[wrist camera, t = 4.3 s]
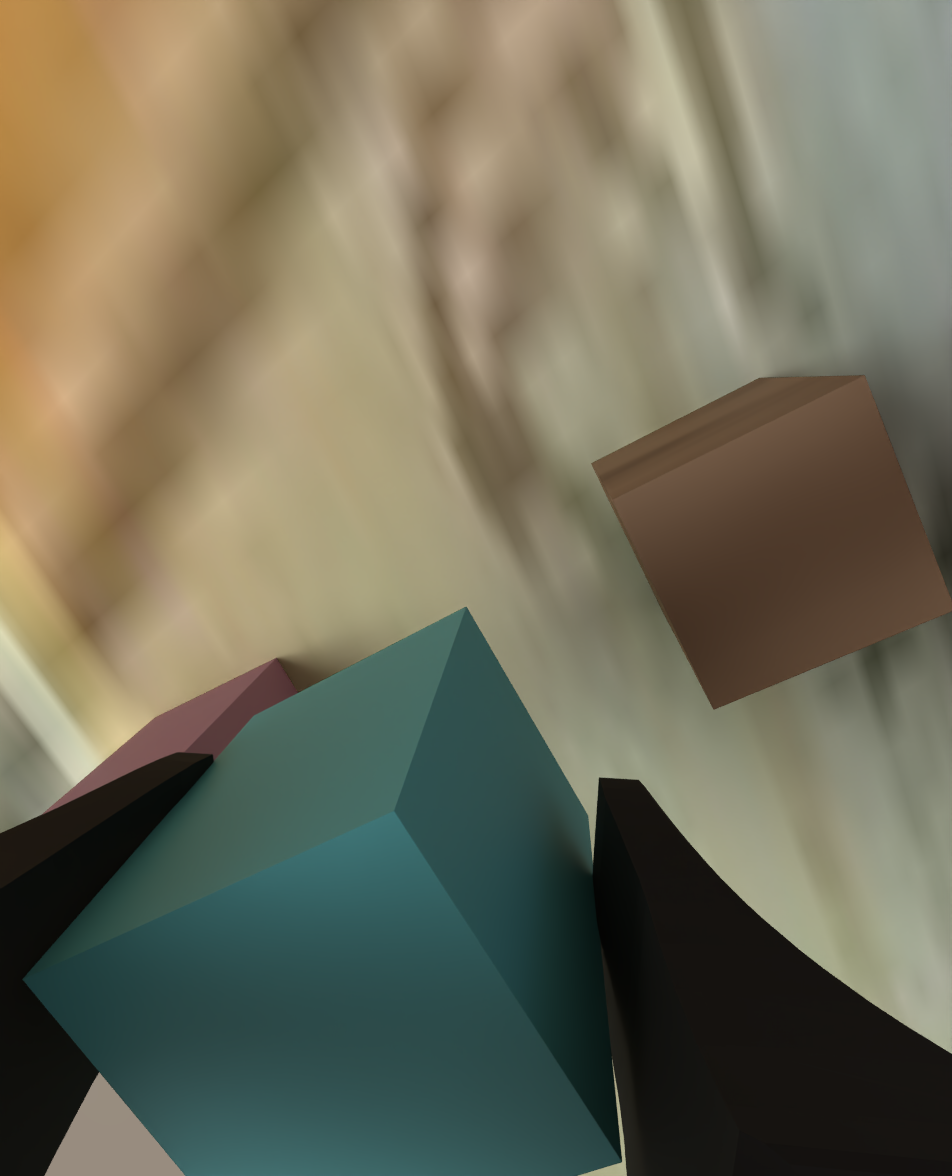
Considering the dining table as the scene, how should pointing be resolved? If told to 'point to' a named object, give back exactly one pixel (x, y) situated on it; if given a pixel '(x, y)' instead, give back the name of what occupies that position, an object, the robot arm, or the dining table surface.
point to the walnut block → (775, 531)
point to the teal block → (359, 941)
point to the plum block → (193, 726)
